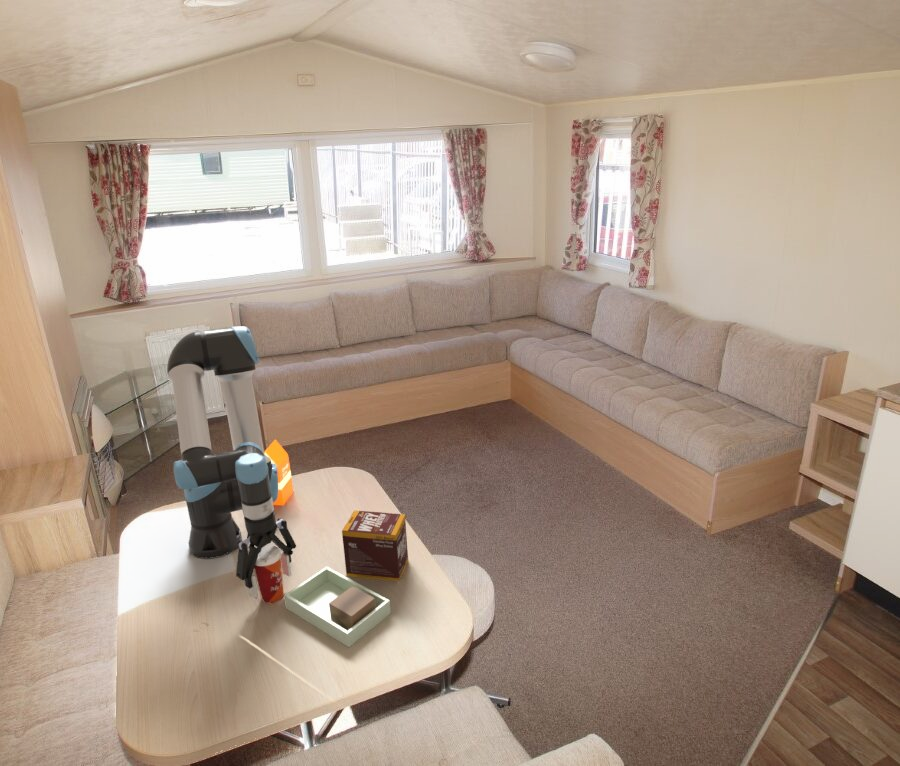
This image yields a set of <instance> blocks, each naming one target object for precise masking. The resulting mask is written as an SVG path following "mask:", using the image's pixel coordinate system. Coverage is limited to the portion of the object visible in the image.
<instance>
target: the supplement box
mask: <svg viewBox="0 0 900 766" xmlns="http://www.w3.org/2000/svg"><path fill="white" fill-rule="evenodd" d="M341 535H342V544H343V554H344V564H345V572H346V573H345V574H346V576H345V577H349V578H350V577H352V578H360V579H361V578H362V579H373V580H380V581H381V580H383V581H390V582H391V581H392V582H400V580H401V577H403V575H404V572H405V570H406V567H407V565H408V562H409V553H408V539H407V538H408V536H407V523H406V514H405V513H392V512H381V511H379V512H378V511H370V510H369V511H368V510H367V511H366V510H354V511H353V513H352V514H351V515H350V517H349V519H348V521H347V522H346V524H345V525H344V527H343V528H342V530H341Z"/></svg>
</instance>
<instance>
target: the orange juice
mask: <svg viewBox="0 0 900 766" xmlns="http://www.w3.org/2000/svg"><path fill="white" fill-rule="evenodd" d="M264 454H265V455H266V456H268V457H269V458H270V459H271V464H272V463H274V464H276V465H277V472H278V498H277V500H276V501H275V502H273V506H285V504H286V503H287V501H288V500H289V499H290V498H291V496H292V495H293V493H294V487H293V486H294V485H293V480H292V471H291V464H290V459H289V454H288V453H287V451H286V450H285V449H284V448H283V446H282V445H281V444H280V443H279V442H278V440H276V439H274V440H273V441H272V443H270V445H269V446H268V447H267V448H266V449H264Z"/></svg>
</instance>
